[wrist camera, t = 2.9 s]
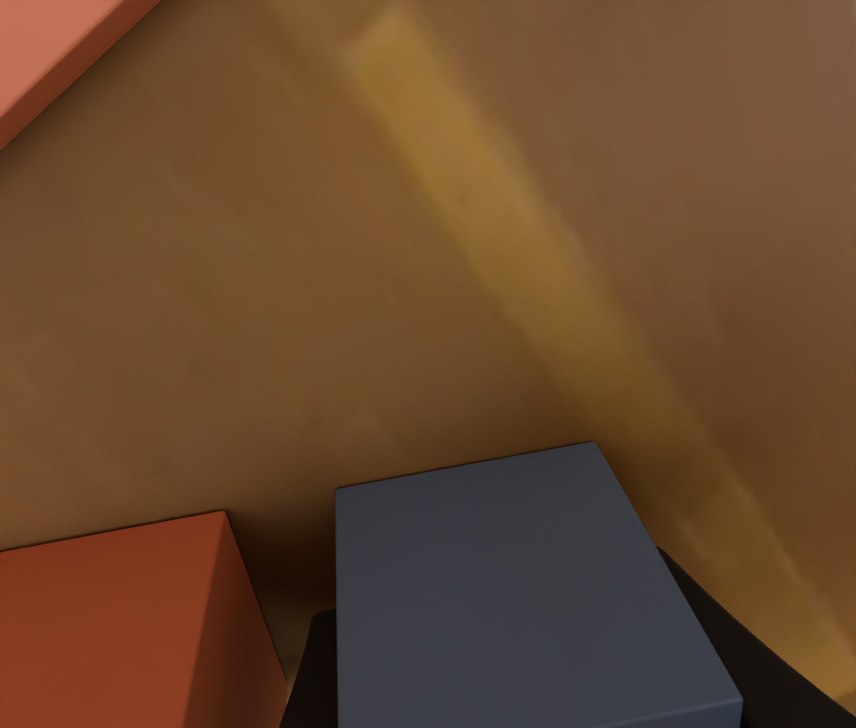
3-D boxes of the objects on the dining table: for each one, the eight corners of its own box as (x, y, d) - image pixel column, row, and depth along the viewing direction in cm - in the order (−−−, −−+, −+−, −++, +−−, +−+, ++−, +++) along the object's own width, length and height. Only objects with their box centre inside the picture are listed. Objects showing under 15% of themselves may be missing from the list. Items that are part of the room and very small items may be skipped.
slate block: (595, 439, 12) (745, 699, 8) (600, 621, 14) (718, 902, 10) (334, 487, 12) (337, 781, 8) (379, 664, 14) (401, 970, 10)
